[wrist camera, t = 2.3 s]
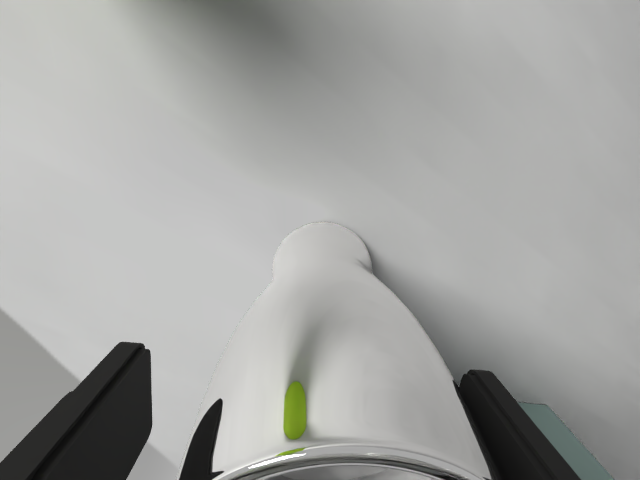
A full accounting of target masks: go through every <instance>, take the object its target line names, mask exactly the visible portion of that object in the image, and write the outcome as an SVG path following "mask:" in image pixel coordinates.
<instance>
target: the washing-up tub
mask: <svg viewBox="0 0 640 480" xmlns="http://www.w3.org/2000/svg"><path fill="white" fill-rule="evenodd" d="M517 403H518V402H517ZM518 404H519V405H520V406H521V408H522V409H523V410H524V411H525V412H526V414H527V415H528V416H529V417H530V419H531V420H532V421H533V422H534V423H535V425H536V426H537V427H538V428H539V429H540V431H541V432H542V433H543V434H544V435H545V437H546V438H547V439H548V440H549V441H550V443H551V444H552V445H553V446H554V447H555V449H556V450H557V451H558V452H559V453H560V455H561V456H562V457H563V458H564V459H565V461H566V462H567V463H568V464H569V466H570V467H571V468H572V469H573V470H574V472H575V473H576V474H577V475H578V476H579V478H580V479H581V480H614V479H613V478H612V477H611V475H610V474H609V473H608V472H607V471H606V470H605V469H604V468H603V467H602V465H601V464H600V463H599V462H598V461H597V460H596V459H595V458H594V457H593V455H592V454H591V453H590V452H589V451H588V450H587V449H586V448H585V447H584V446H583V444H582V443H581V442H580V441H579V440H578V439H577V438H576V437H575V436H574V434H573V433H572V432H571V431H570V430H569V429H568V428H567V427H566V426H565V425H564V423H563V422H562V421H561V420H560V419H559V418H558V417H557V416H556V415H555V413H554V412H553V411H552V410H551V409H550V408H549V407H548V406H547V405H540V404H529V403H518Z"/></svg>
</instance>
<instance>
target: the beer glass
mask: <svg viewBox="0 0 640 480" xmlns="http://www.w3.org/2000/svg"><path fill="white" fill-rule="evenodd" d="M272 277H273V280H272V281H271V282H270V283H269V285H268V286H267V287H266V288H265V289H264V290H263V291H262V293H261V294H260V295H259V296H258V297H257V298H256V300H255V301H254V302H253V303H252V305H251V306H250V308H249V309H248V311H247V312H246V313H245V315H244V316H243V318H242V319H241V321H240V322H239V323H238V325H237V326H236V328H235V330H234V331H233V333H232V335H231V337H230V339H229V341H228V343H227V345H226V347H225V349H224V351H223V353H222V355H221V357H220V359H219V361H218V363H217V365H216V368H215V370H214V373H213V375H212V378H211V380H210V383H209V385H208V388H207V390H206V393H205V395H204V398H203V400H202V402H201V405H200V408H199V411H198V414H197V417H196V420H195V423H194V425H193V428H192V431H191V434H190V437H189V440H188V443H187V446H186V449H185V452H184V455H183V458H182V461H181V464H180V467H179V470H178V474H177V477H176V480H503V479H502V477H501V475H500V473H499V471H498V469H497V466H496V464H495V462H494V460H493V458H492V456H491V453H490V451H489V449H488V447H487V445H486V443H485V440H484V438H483V436H482V434H481V432H480V430H479V428H478V426H477V424H476V422H475V420H474V418H473V416H472V413H471V411H470V409H469V407H468V405H467V403H466V401H465V399H464V397H463V395H462V393H461V391H460V389H459V387H458V385H457V384H456V382H455V380H454V378H453V376H452V375H451V373H450V371H449V369H448V367H447V365H446V364H445V362H444V360H443V358H442V356H441V355H440V353H439V351H438V350H437V348H436V347H435V345H434V344H433V342H432V341H431V339H430V338H429V336H428V335H427V333H426V332H425V330H424V329H423V327H422V326H421V324H420V323H419V321H418V320H417V319H416V317H415V316H414V315H413V314H412V313H411V311H410V310H409V309H408V308H407V307H406V306H405V305H404V304H403V303H402V301H401V300H400V299H399V298H398V297H397V296H396V295H395V294H394V293H393V292H392V291H391V290H390V289H389V288H388V287H387V286H386V285H384V284H383V283H382V282H381V281H380V280H379V279H378V278H377V277H376V276H374V275H373V274H372V262H371V258H370V255H369V252H368V250H367V247H366V246H365V244H364V243H363V241H362V240H361V239H360V238H359V237H358V236H357V235H356V234H355V233H354V232H352V231H351V230H349V229H348V228H346V227H344V226H341V225H338V224H335V223H330V222H314V223H309V224H306V225H303V226H301V227H299V228H297V229H295V230H294V231H292V232H291V233H290V234H288V235H287V236H286V237H285V238H284V239H283V241H282V242H281V243H280V245H279V246H278V248H277V250H276V252H275V255H274V259H273V264H272Z"/></svg>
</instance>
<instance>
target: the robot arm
mask: <svg viewBox="0 0 640 480" xmlns="http://www.w3.org/2000/svg"><path fill="white" fill-rule="evenodd" d="M459 389H460V391H461V393H462V395H463V397H464V399H465V401H466V403H467V405H468V407H469V409H470V411H471V413H472V416H473V418H474V420H475V422H476V424H477V426H478V428H479V430H480V432H481V434H482V436H483V438H484V440H485V443H486V445H487V447H488V449H489V451H490V453H491V456H492V458H493V460H494V462H495V464H496V466H497V469H498V471H499V473H500V475H501V477H502V479H503V480H581V479H580V478H579V476H578V475H577V474H576V473H575V472H574V470H573V469H572V468H571V467H570V466H569V464H568V463H567V462H566V461H565V459H564V458H563V457H562V456H561V455H560V453H559V452H558V451H557V450H556V449H555V447H554V446H553V445H552V444H551V443H550V441H549V440H548V439H547V438H546V437H545V435H544V434H543V433H542V432H541V431H540V429H539V428H538V427H537V426H536V425H535V423H534V422H533V421H532V420H531V419H530V417H529V416H528V415H527V414H526V412H525V411H524V410H523V409H522V408H521V406H520V405H519V404H518V403H517V402H516V400H515V399H514V398H513V397H512V396H511V394H510V393H509V392H508V391H507V390H506V388H505V387H504V386H503V385H502V384H501V382H500V381H499V380H498V379H497V378H496V376H495V375H494V374H493V373H492V372H490V371H483V370H470V371H469V372H468V373H467V374H464V375H463V377H462V380H461V383H460V387H459ZM151 428H152V395H151V356H150V350H149V349H145V346H144V344H142V343H131V342H120V343H119V344H117V345H116V346H115V347H114V349H113V350H112V351H111V352H110V353H109V354H108V355H107V356H106V357H105V358H104V359H103V360H102V361H101V362H100V363H99V364H98V365H97V366H96V368H95V369H94V370H93V371H92V372H91V373H90V374H89V375H88V376H87V377H86V378H85V379H84V380H83V381H82V382H81V383H80V384H79V386H78V387H77V388H76V389H75V390H74V391H72V392H69V393H68V394H67V395H66V396H65V397H64V398H62V399H61V400H60V401H59V403H58V404H57V405H56V406H55V407H54V408H53V409H52V410H51V411H50V412H49V413H48V414H47V415H46V416H45V417H44V418H43V419H42V420H41V421H40V422H39V423H38V424H37V425H36V427H34V428H33V429H32V430H31V432H30V433H29V434H28V435H27V436H26V437H25V438H24V439H23V440H22V441H21V442H20V443H19V444H18V445H17V446H16V447H15V448H14V449H13V451H11V452H10V454H8V456H7V457H6V458H5V459H4V460H3V461H2V462H1V463H0V480H126V479H127V477H128V475H129V473H130V471H131V469H132V468H133V466H134V464H135V462H136V460H137V458H138V456H139V455H140V452H141V451H142V449H143V447H144V445H145V443H146V442H147V440H148V438H149V435H150V432H151Z"/></svg>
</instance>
